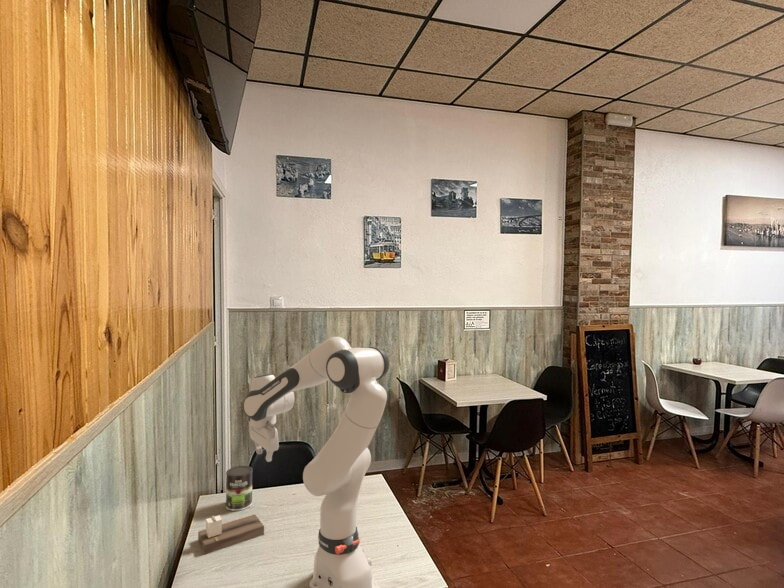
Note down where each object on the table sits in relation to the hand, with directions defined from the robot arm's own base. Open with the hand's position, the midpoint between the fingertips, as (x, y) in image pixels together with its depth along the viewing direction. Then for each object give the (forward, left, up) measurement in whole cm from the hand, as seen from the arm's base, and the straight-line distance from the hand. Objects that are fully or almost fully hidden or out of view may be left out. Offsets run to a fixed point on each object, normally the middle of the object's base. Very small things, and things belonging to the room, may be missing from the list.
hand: (264, 457), depth 150 cm
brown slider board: (+5, +10, -28) cm, 30 cm away
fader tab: (+5, +16, -25) cm, 29 cm away
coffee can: (+27, +1, -28) cm, 39 cm away
